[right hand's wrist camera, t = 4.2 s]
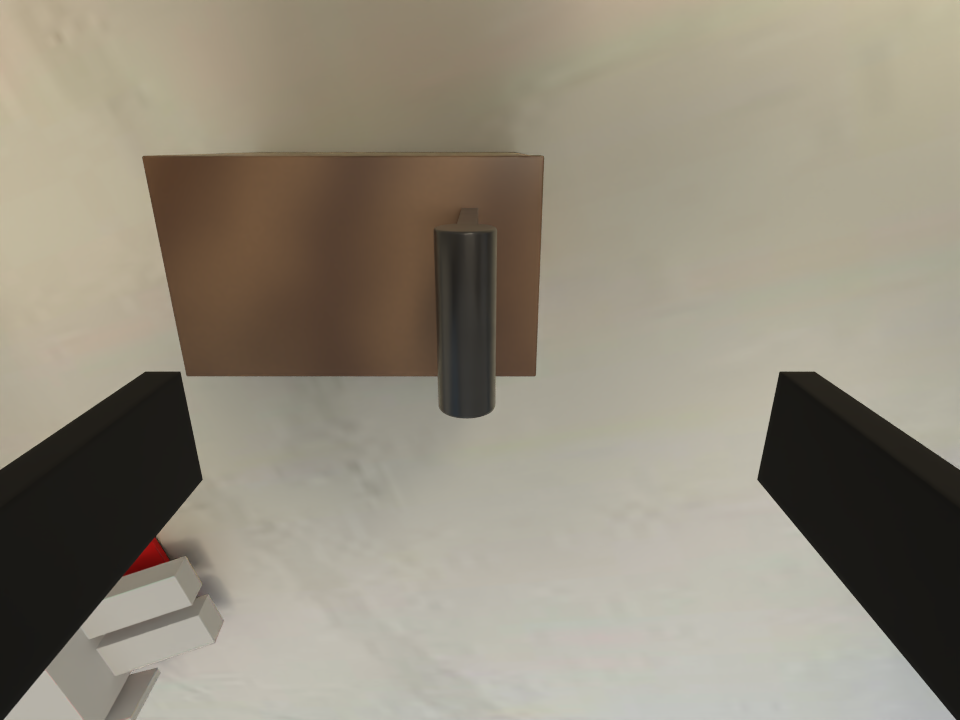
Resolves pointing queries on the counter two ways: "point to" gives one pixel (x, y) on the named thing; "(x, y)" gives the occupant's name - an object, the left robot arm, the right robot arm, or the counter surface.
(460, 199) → the lid
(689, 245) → the counter surface
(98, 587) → the right robot arm
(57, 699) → the toy
